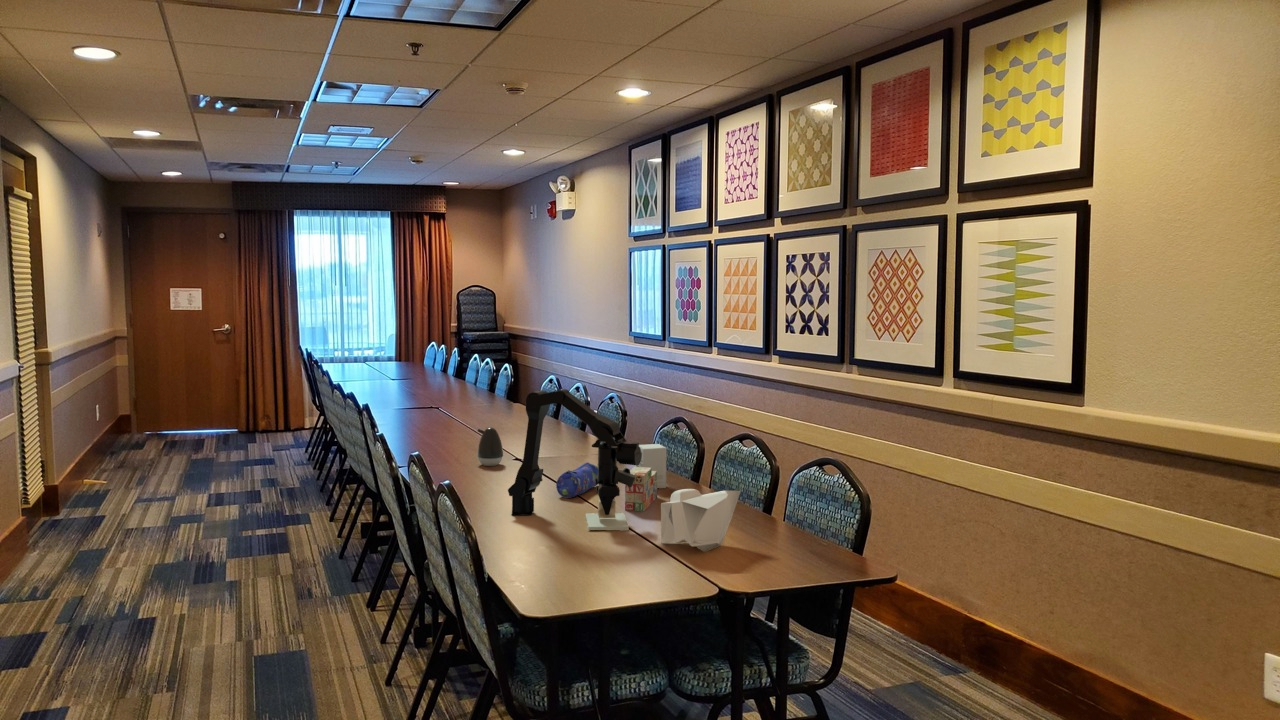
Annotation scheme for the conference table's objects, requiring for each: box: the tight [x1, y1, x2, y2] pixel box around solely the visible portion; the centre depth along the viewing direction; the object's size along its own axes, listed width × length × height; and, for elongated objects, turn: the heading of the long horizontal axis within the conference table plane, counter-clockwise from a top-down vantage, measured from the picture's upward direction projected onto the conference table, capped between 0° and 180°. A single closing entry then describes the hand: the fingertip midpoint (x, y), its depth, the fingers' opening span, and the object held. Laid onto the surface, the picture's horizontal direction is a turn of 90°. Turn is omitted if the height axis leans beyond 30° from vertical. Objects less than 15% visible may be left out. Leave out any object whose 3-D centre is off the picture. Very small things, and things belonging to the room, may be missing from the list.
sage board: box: [585, 512, 629, 531], centre depth 283 cm, size 12×16×1 cm
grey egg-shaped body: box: [477, 427, 504, 467], centre depth 369 cm, size 10×10×15 cm
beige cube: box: [597, 497, 617, 518], centre depth 283 cm, size 5×5×5 cm
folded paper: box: [660, 488, 742, 553], centre depth 260 cm, size 17×24×17 cm
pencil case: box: [555, 462, 599, 499], centre depth 324 cm, size 22×9×10 cm, turn 159°
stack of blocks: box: [624, 466, 658, 512], centre depth 309 cm, size 21×6×12 cm, turn 167°
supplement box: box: [635, 443, 667, 489], centre depth 335 cm, size 9×9×15 cm
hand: (606, 512), depth 283 cm, fingers closed on beige cube, 5 cm apart
